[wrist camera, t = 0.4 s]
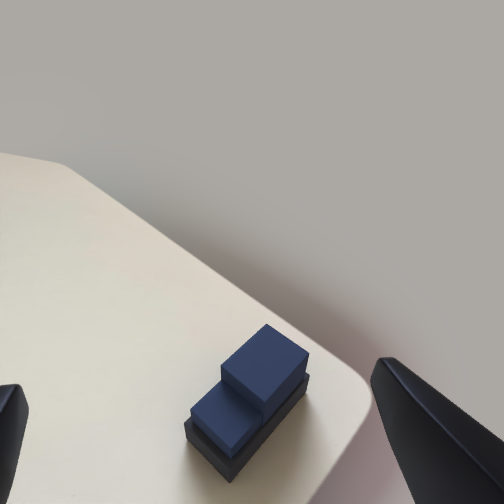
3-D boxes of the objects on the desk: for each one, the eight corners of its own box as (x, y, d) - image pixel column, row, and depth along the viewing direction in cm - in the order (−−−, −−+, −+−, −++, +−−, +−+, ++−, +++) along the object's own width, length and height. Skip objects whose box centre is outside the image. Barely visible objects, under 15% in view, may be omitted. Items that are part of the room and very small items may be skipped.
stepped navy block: (264, 359, 32) (268, 317, 29) (306, 391, 30) (316, 350, 27) (186, 438, 27) (178, 399, 23) (229, 483, 25) (228, 447, 21)
